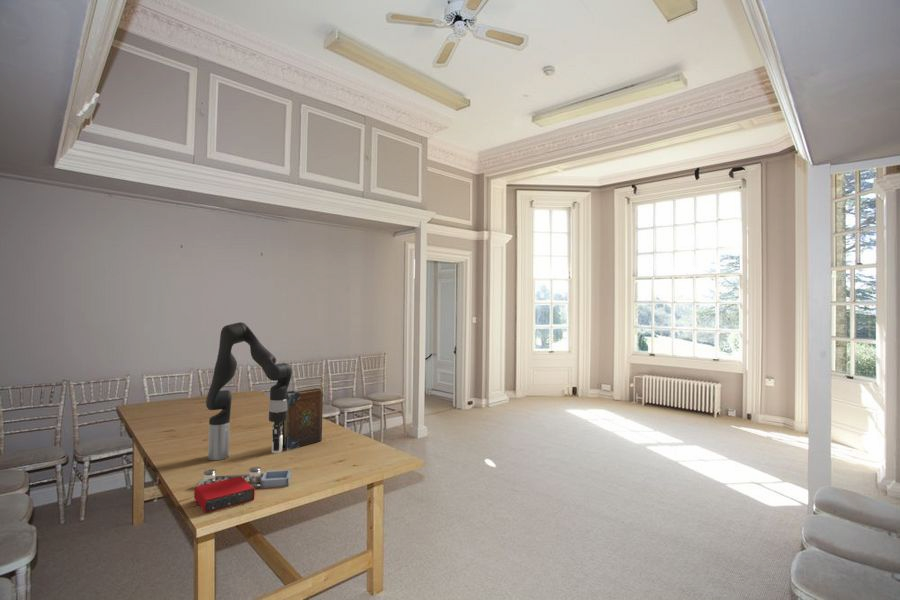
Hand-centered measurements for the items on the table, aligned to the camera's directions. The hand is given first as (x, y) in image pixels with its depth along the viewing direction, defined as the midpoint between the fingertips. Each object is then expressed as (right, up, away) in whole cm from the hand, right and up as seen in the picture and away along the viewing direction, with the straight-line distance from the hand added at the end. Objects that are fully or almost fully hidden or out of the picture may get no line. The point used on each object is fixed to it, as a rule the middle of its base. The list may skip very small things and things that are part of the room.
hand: (277, 448), depth 195 cm
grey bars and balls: (-18, -14, -5) cm, 23 cm away
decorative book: (-6, -15, +53) cm, 55 cm away
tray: (0, -14, 0) cm, 14 cm away
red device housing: (-13, -14, -20) cm, 27 cm away
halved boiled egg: (0, -1, 0) cm, 1 cm away
